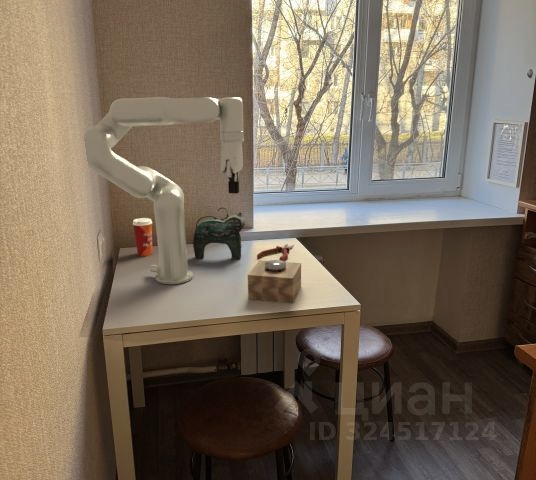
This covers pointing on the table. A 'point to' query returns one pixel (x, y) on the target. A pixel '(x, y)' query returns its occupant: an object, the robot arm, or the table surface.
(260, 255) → the pliers
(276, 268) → the grey metal rounded piece
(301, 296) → the table surface
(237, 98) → the robot arm
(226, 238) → the ceramic cat
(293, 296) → the socket block
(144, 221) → the paper cup
